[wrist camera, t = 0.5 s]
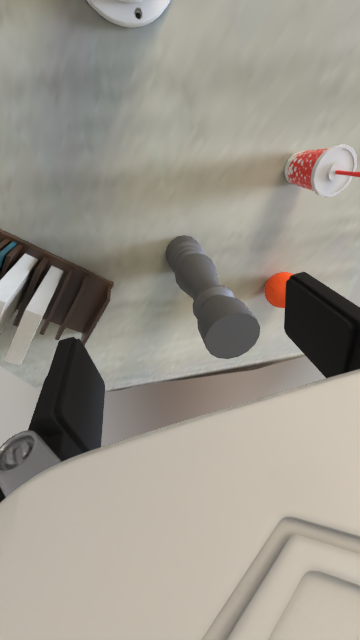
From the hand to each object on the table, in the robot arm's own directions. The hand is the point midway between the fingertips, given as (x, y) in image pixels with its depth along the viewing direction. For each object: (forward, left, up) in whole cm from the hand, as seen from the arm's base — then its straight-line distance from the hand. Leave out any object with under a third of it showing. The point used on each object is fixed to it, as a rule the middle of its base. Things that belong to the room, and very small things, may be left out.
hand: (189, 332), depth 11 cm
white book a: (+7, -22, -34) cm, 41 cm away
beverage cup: (+1, +26, -35) cm, 44 cm away
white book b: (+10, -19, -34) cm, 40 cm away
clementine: (+21, +23, -35) cm, 47 cm away
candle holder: (+10, +5, -35) cm, 37 cm away
